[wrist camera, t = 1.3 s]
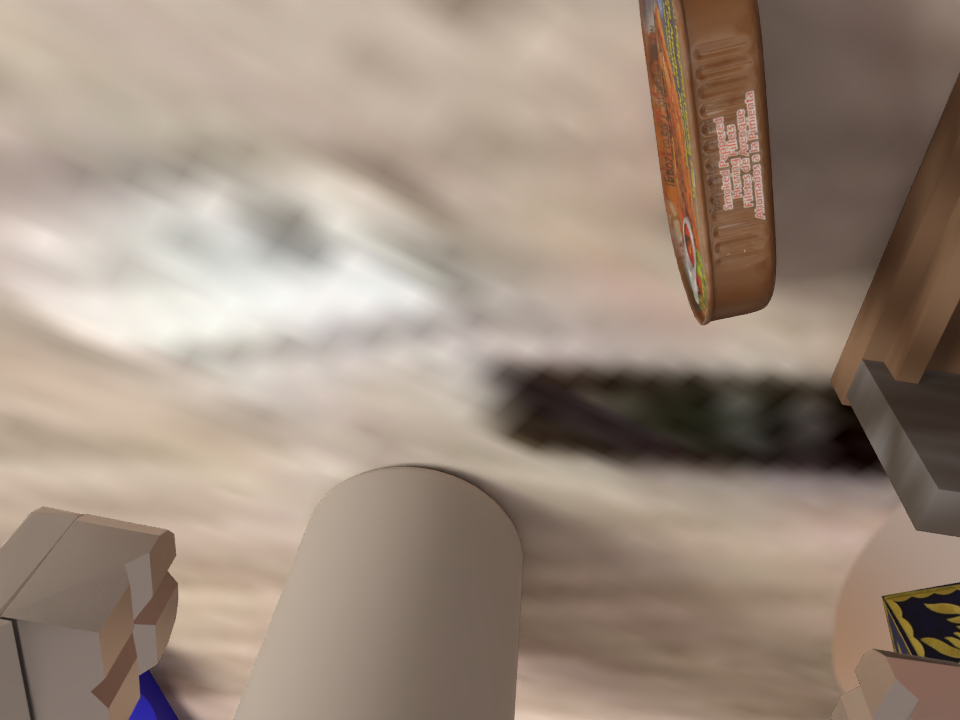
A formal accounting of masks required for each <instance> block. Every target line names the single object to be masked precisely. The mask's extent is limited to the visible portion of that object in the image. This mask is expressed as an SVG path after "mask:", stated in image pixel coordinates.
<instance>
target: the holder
mask: <svg viewBox="0 0 960 720" xmlns="http://www.w3.org/2000/svg"><path fill="white" fill-rule="evenodd" d="M831 383H832V385H833V387H834V389H835V391H836V393H837V395H838V397H839V399H840V401H841V403H842V404H843V405H849V406H852V408H853V410H854V412H855V414H856V416H857V418H858V420H859V422H860V423H861V425H862V427H863V429H864V431H865V433H866V435H867V437H868V439H869V441H870V443H871V445H872V446H873V448H874V450H875V452H876V454H877V456H878V458H879V460H880V462H881V464H882V466H883V468H884V470H885V471H886V473H887V475H888V477H889V479H890V481H891V483H892V485H893V487H894V489H895V491H896V493H897V495H898V496H899V498H900V500H901V502H902V504H903V506H904V508H905V510H906V512H907V514H908V516H909V518H910V519H911V521H912V523H913V525H914V527H915V529H916V530H917V531H925V532H930V533H936V534H943V535H949V536H956V537H960V73H959V76H958V78H957V81H956V83H955V85H954V88H953V90H952V93H951V95H950V97H949V100H948V102H947V104H946V107H945V109H944V112H943V114H942V116H941V119H940V121H939V124H938V126H937V128H936V131H935V133H934V135H933V138H932V140H931V143H930V145H929V147H928V150H927V152H926V155H925V157H924V159H923V162H922V164H921V166H920V169H919V171H918V174H917V176H916V178H915V181H914V183H913V186H912V188H911V190H910V193H909V195H908V197H907V200H906V202H905V205H904V207H903V209H902V212H901V214H900V217H899V219H898V221H897V224H896V226H895V228H894V231H893V233H892V236H891V238H890V240H889V243H888V245H887V248H886V250H885V252H884V255H883V257H882V259H881V262H880V264H879V267H878V269H877V271H876V274H875V276H874V279H873V281H872V283H871V286H870V288H869V290H868V293H867V295H866V298H865V300H864V302H863V305H862V307H861V310H860V312H859V314H858V317H857V319H856V321H855V324H854V326H853V329H852V331H851V333H850V336H849V338H848V340H847V343H846V345H845V348H844V350H843V352H842V355H841V357H840V360H839V362H838V364H837V367H836V369H835V371H834V374H833V376H832V379H831Z"/></svg>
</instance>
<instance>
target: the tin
mask: <svg viewBox="0 0 960 720" xmlns="http://www.w3.org/2000/svg"><path fill="white" fill-rule="evenodd" d="M639 6H640V17H641V26H642V34H643V42H644V47H645V56H646V64H647V71H648V79H649V86H650V93H651V102H652V109H653V117H654V125H655V132H656V140H657V148H658V156H659V164H660V171H661V178H662V186H663V193H664V200H665V205H666V212H667V216H668V222H669V228H670V233H671V238H672V243H673V247H674V252H675V256H676V259H677V264H678V268H679V271H680V274H681V279H682V282H683V285H684V288H685V291H686V294H687V297H688V301H689V303H690V306H691V309H692V311H693V313H694V316H695V318H696V319H697V321H698V322H699V323H700V324H701V325H706V324H708V323H709V322H710V321H714V320H719V319H724V318H729V317H734V316H739V315H744V314H748V313H752V312H756V311H759V310H761V309H763V308H764V307H766V306H767V305H768V303H769V301H770V300H771V297H772V295H773V291H774V286H775V276H776V238H775V222H774V203H773V187H772V170H771V154H770V142H769V125H768V111H767V99H766V83H765V72H764V59H763V46H762V34H761V26H760V17H759V10H758V3H757V0H639Z"/></svg>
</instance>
